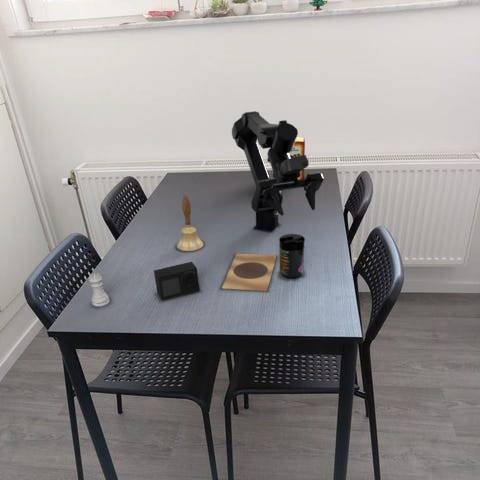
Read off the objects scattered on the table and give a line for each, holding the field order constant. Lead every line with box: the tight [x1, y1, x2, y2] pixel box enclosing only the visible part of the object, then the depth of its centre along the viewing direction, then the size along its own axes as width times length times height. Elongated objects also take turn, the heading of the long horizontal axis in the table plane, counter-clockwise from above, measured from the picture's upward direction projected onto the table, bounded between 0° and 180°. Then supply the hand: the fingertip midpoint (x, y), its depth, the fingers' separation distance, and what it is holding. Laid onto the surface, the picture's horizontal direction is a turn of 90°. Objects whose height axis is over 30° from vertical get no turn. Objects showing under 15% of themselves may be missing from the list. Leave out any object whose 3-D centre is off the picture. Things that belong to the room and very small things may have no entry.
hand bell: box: [176, 195, 204, 252], centre depth 145 cm, size 8×8×16 cm
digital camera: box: [153, 261, 200, 301], centre depth 124 cm, size 10×5×7 cm, turn 114°
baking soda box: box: [289, 137, 306, 180], centre depth 195 cm, size 10×6×16 cm
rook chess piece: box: [88, 272, 111, 308], centre depth 121 cm, size 4×4×8 cm
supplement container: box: [278, 233, 306, 280], centre depth 129 cm, size 7×7×10 cm
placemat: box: [221, 253, 277, 292], centre depth 134 cm, size 20×12×1 cm, turn 170°
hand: (298, 212), depth 131 cm, fingers open, 9 cm apart
